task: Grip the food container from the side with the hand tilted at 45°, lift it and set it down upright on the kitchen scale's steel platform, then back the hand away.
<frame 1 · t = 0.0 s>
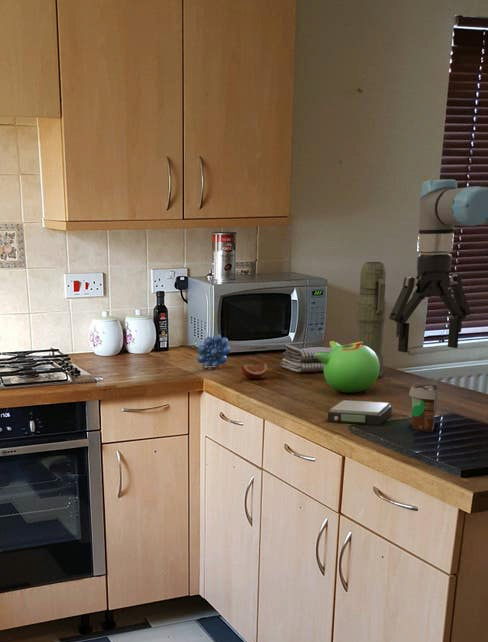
hand: (427, 349, 203), 19 cm above the countertop, tool pointing down, fingers open, 13 cm apart
towel: (310, 369, 297), on the countertop
toy bird: (348, 392, 256), on the countertop
fruit slice: (255, 379, 281), on the countertop
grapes: (213, 369, 303), on the countertop
thermos: (368, 376, 280), on the countertop
food container: (420, 427, 211), on the countertop
kitchen scale: (359, 418, 222), on the countertop
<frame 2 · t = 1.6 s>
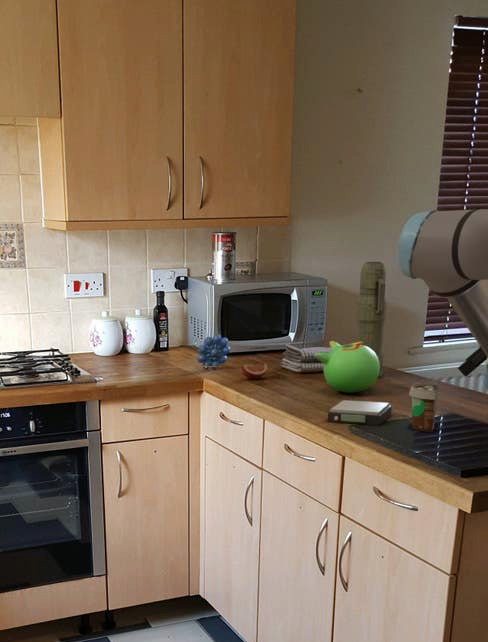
hand: (465, 367, 202), 15 cm above the countertop, tool tilted 45°, fingers open, 13 cm apart
nothing on the countertop moved.
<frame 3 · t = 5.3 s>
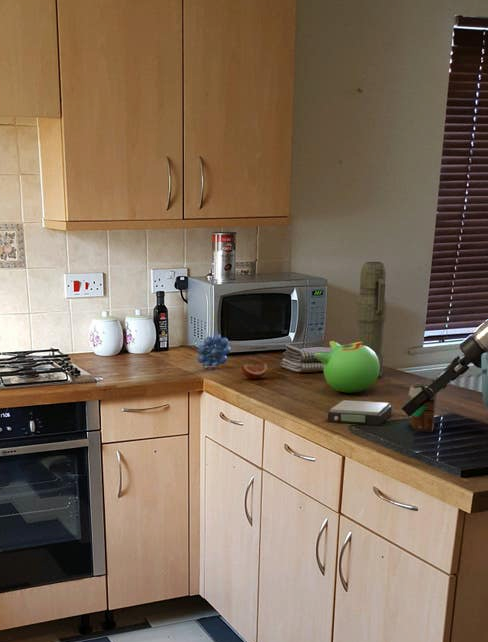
hand: (411, 406, 210), 5 cm above the countertop, tool tilted 45°, fingers closed on food container, 12 cm apart
food container: (419, 428, 211), on the countertop, touching gripper
everything else where it was.
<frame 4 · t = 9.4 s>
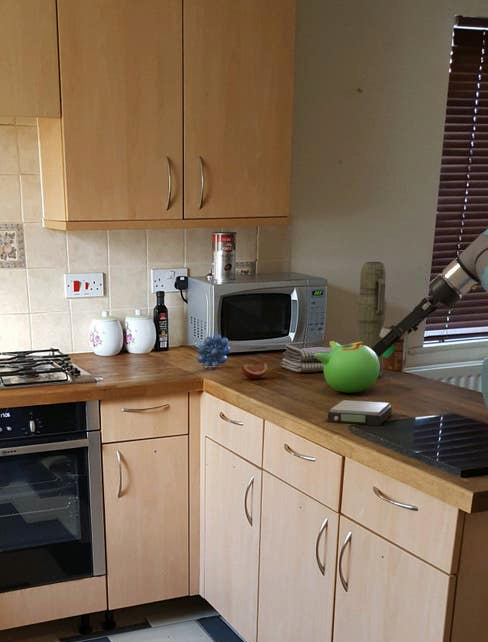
hand: (382, 348, 212), 18 cm above the countertop, tool tilted 45°, fingers closed on food container, 12 cm apart
food container: (390, 369, 212), point 13 cm above the countertop, touching gripper
everything else where it was.
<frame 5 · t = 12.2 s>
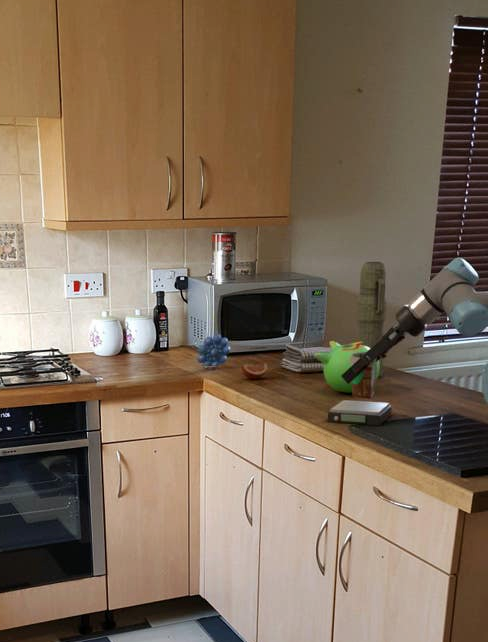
hand: (351, 375, 219), 11 cm above the countertop, tool tilted 45°, fingers closed on food container, 12 cm apart
food container: (360, 395, 220), point 6 cm above the countertop, touching gripper
everything else where it was.
when the fingers open (8 cm above the countertop, at t = 13.8 s): food container stays where it is, resting on kitchen scale.
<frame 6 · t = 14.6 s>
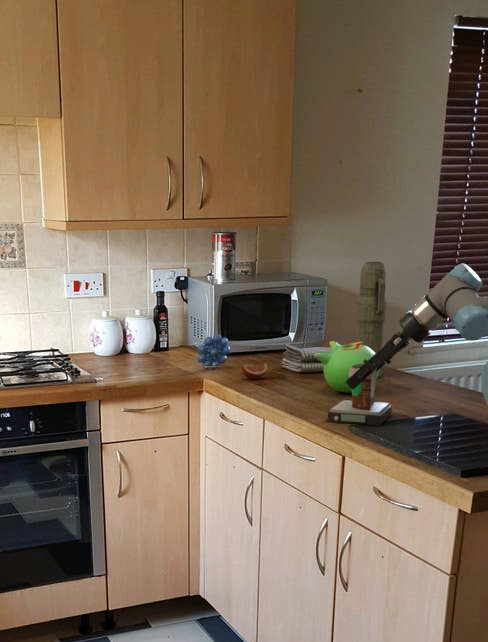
hand: (356, 381, 219), 9 cm above the countertop, tool tilted 45°, fingers open, 13 cm apart
food container: (359, 406, 220), point 3 cm above the countertop, touching gripper, kitchen scale
everything else where it was.
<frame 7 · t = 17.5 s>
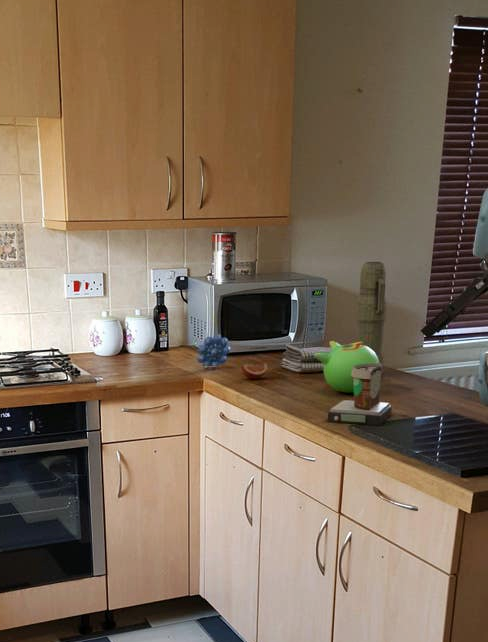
hand: (429, 332, 203), 23 cm above the countertop, tool tilted 45°, fingers open, 13 cm apart
food container: (362, 406, 220), point 3 cm above the countertop, touching kitchen scale
everything else where it was.
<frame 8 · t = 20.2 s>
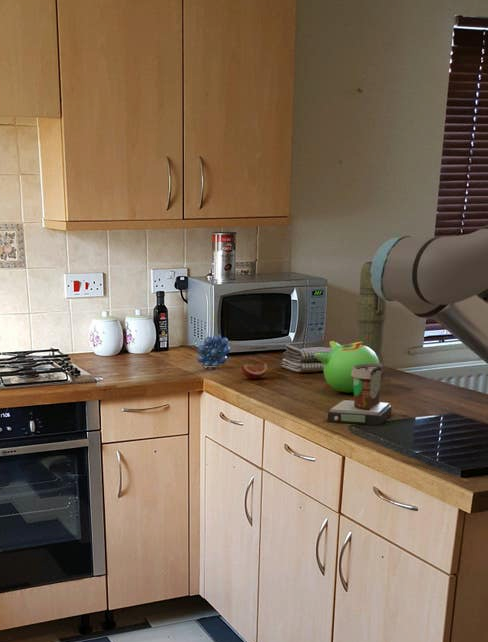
hand: (464, 312, 194), 28 cm above the countertop, tool tilted 45°, fingers open, 13 cm apart
nothing on the countertop moved.
at the end: food container inside the target area on the kitchen scale (0.6 cm from its centre), point 3.0 cm above the kitchen scale's base; food container tilted 0°; the gripper is holding nothing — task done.
